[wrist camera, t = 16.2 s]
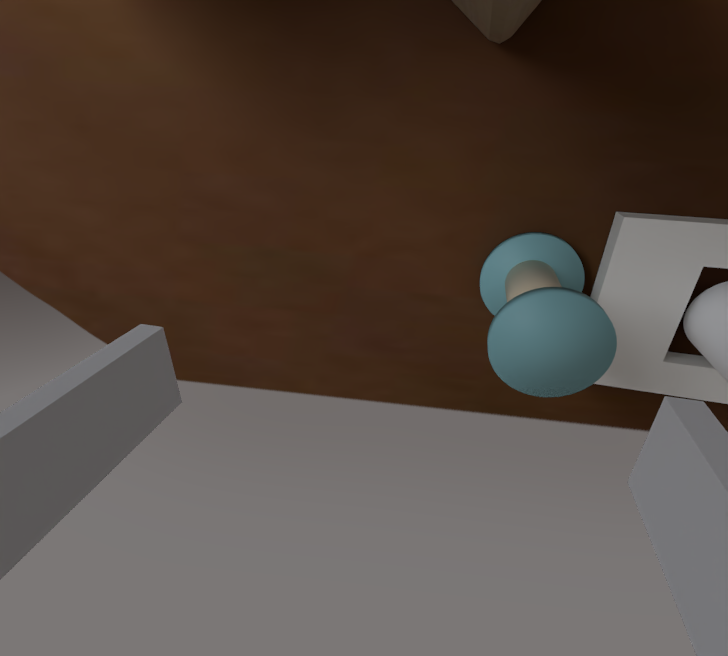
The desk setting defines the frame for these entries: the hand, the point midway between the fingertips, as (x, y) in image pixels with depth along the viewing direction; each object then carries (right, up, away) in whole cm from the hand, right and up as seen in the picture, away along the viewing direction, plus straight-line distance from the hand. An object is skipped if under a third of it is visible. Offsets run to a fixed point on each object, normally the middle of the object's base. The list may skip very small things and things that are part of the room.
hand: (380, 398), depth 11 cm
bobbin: (+14, +6, +23) cm, 28 cm away
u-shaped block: (+25, +4, +21) cm, 33 cm away
